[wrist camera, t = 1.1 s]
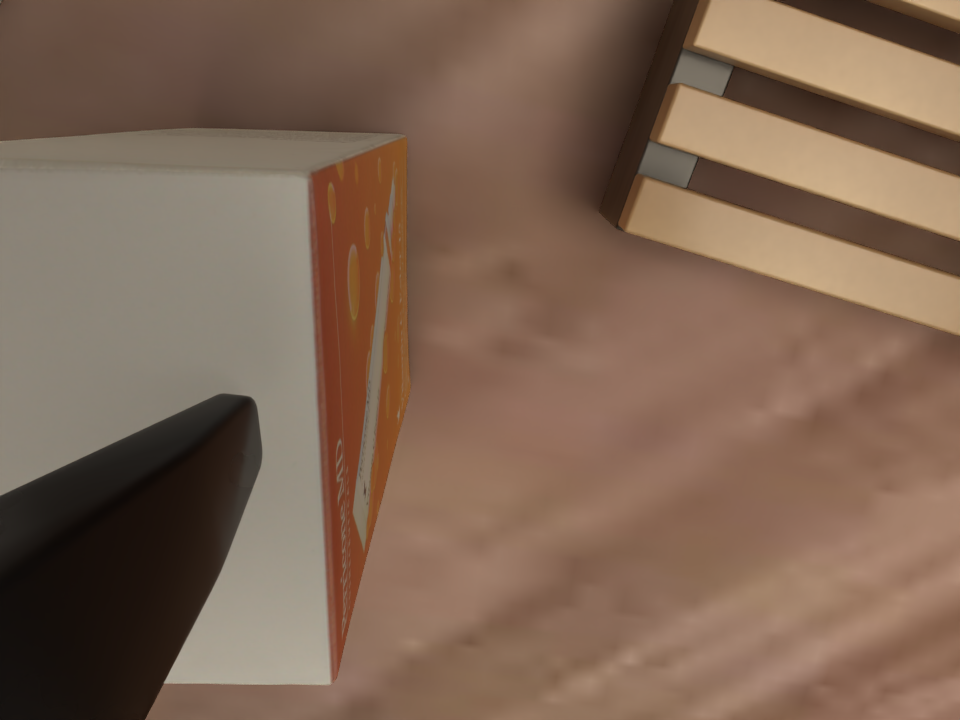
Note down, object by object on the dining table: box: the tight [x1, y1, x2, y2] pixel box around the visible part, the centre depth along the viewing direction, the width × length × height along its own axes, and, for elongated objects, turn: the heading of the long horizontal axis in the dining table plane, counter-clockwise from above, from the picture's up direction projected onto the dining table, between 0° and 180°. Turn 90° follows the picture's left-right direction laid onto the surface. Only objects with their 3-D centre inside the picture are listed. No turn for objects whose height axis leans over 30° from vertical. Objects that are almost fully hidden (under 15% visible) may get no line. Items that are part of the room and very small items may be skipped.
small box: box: [0, 128, 411, 685], centre depth 16 cm, size 8×6×13 cm
